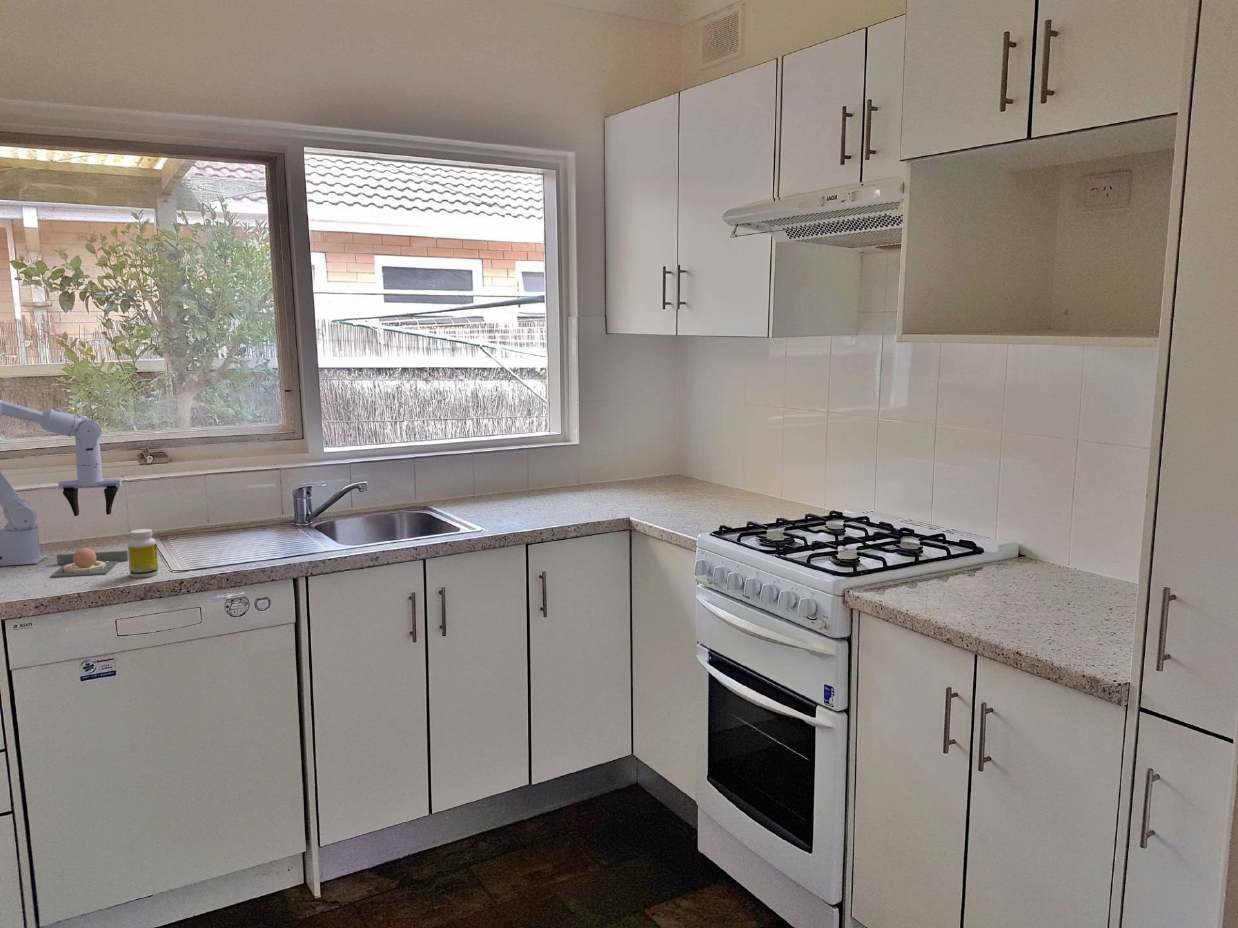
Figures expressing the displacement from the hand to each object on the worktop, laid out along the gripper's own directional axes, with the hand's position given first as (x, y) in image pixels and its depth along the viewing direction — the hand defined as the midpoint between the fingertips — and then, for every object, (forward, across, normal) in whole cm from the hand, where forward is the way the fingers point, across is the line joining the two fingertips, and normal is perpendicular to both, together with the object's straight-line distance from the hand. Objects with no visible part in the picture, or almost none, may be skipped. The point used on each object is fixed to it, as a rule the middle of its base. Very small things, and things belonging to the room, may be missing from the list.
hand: (92, 514), depth 244 cm
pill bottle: (+11, -17, +28) cm, 34 cm away
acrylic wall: (+10, -2, +11) cm, 15 cm away
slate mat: (+10, -2, +19) cm, 22 cm away
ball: (+10, -2, +19) cm, 22 cm away
